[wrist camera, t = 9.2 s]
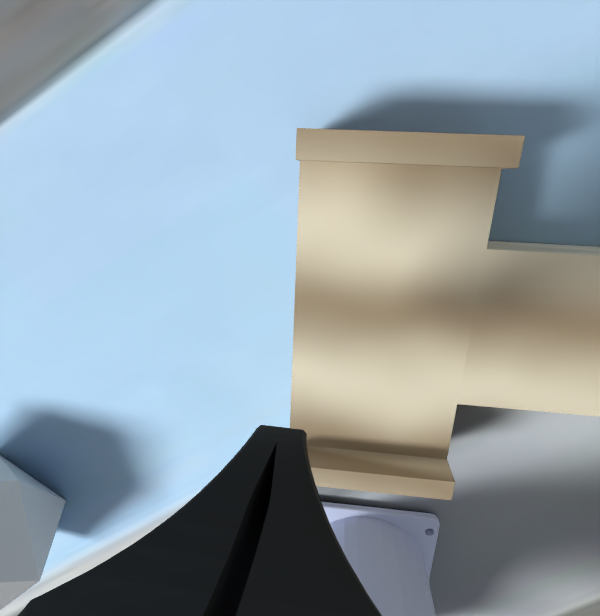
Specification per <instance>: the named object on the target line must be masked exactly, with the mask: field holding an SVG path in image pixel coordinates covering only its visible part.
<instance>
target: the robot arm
mask: <svg viewBox="0 0 600 616" xmlns="http://www.w3.org/2000/svg"><path fill="white" fill-rule="evenodd" d="M306 438H307V433H306V432H305V431H304V430H301V429H292V428H283V427H274V426H265V425H261V426H259V427H258V428H257V429H256V430H255V432H254V433H253V434H252V436H251V437H250V438H249V440H248V441H247V442H246V443H245V445H244V446H243V447H242V448H241V449H240V451H239V452H238V453H237V454H236V455H235V456H234V457H233V459H232V460H231V461H230V462H229V463H228V464H227V465H226V466H225V467H224V468H223V470H222V471H221V472H220V473H219V474H218V475H217V476H216V477H215V478H214V479H213V480H212V481H211V482H210V483H209V484H207V485H206V486H205V487H204V488H203V489H202V490H201V491H200V492H199V493H198V494H197V495H196V496H195V497H194V498H193V499H191V500H190V501H189V502H188V503H187V504H186V505H185V506H183V507H182V508H181V509H180V510H178V511H177V512H176V513H175V514H174V515H172V516H171V517H170V518H169V519H167V520H166V521H164V522H163V523H162V524H160V525H159V526H158V527H156V528H155V529H154V530H152V531H151V532H150V533H148V534H147V535H145V536H144V537H143V538H141V539H140V540H138V541H137V542H135V543H134V544H132V545H131V546H129V547H128V548H126V549H124V550H123V551H121V552H119V553H118V554H116V555H115V556H113V557H111V558H110V559H108V560H107V561H105V562H103V563H101V564H100V565H98V566H96V567H95V568H93V569H91V570H89V571H87V572H86V573H84V574H82V575H80V576H78V577H76V578H74V579H72V580H70V581H68V582H66V583H64V584H62V585H60V586H58V587H56V588H55V589H53V590H51V591H49V592H47V593H45V594H43V595H41V596H39V597H36V598H34V599H32V600H31V601H30V602H29V603H28V604H27V606H26V607H25V608H24V609H23V610H22V612H21V613H20V614H19V615H18V616H436V613H435V608H434V604H433V599H432V594H431V590H430V585H429V578H430V573H431V568H432V563H433V558H434V553H435V548H436V543H437V537H438V532H439V527H440V523H439V519H438V517H437V516H436V515H434V514H431V513H421V512H412V511H403V510H394V509H385V508H376V507H366V506H357V505H348V504H339V503H330V502H321V499H320V497H319V494H318V491H317V488H316V484H315V481H314V477H313V474H312V470H311V466H310V462H309V457H308V451H307V442H306ZM427 529H431V530H427Z"/></svg>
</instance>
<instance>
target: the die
mask: <svg viewBox="0 0 600 616" xmlns="http://www.w3.org/2000/svg"><path fill="white" fill-rule="evenodd" d="M65 503H66V500H65V499H63V498H62V497H60V496H59V495H57V494H56V493H54V492H53V491H52V490H50V489H49V488H47V487H46V486H44V485H43V484H41V483H40V482H39V481H37V480H36V479H34V478H33V477H31V476H30V475H28V474H27V473H26V472H24V471H23V470H21V469H20V468H18V467H17V466H15V465H14V464H13V463H11V462H10V461H8V460H7V459H5V458H4V457H2V456H1V455H0V610H1V609H2V608H4V607H5V606H6V605H8V604H9V603H10V602H12V601H13V600H14V599H16V598H17V597H18V596H20V595H21V594H22V593H24V592H25V591H26V590H28V589H29V588H30V587H32V586H33V585H34V584H36V583H37V582H38V581H40V578H41V575H42V572H43V569H44V566H45V563H46V560H47V557H48V554H49V551H50V548H51V545H52V542H53V539H54V536H55V533H56V530H57V527H58V524H59V521H60V518H61V515H62V512H63V509H64V506H65Z"/></svg>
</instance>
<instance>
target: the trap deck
mask: <svg viewBox="0 0 600 616" xmlns="http://www.w3.org/2000/svg"><path fill="white" fill-rule="evenodd" d="M524 139H525V136H520V135H489V134H459V133H428V132H398V131H367V130H337V129H306V128H297V139H296V160H299V161H300V176H299V203H298V230H297V256H296V283H295V310H294V337H293V363H292V390H291V417H290V428H292V429H301V430H304V431H305V432H306V433H307V438H306V442H307V451H308V457H309V462H310V466H311V470H312V474H313V477H314V481H315V484H316V486H321V487H330V488H340V489H349V490H359V491H368V492H378V493H387V494H397V495H406V496H415V497H425V498H434V499H444V500H452V495H453V490H454V485H455V480H454V478H453V475H452V472H451V469H450V467H449V464H448V461H447V455H448V450H449V445H450V439H451V434H452V429H453V424H454V418H455V413H456V408H457V404H462V405H474V406H485V407H497V408H508V409H520V410H531V411H543V412H555V413H566V414H578V415H589V416H600V247H597V246H579V245H560V244H541V243H523V242H504V241H488V239H489V233H490V228H491V223H492V218H493V212H494V207H495V202H496V196H497V191H498V186H499V181H500V175H501V170H502V169H507V168H519V163H520V158H521V153H522V149H523V144H524Z"/></svg>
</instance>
